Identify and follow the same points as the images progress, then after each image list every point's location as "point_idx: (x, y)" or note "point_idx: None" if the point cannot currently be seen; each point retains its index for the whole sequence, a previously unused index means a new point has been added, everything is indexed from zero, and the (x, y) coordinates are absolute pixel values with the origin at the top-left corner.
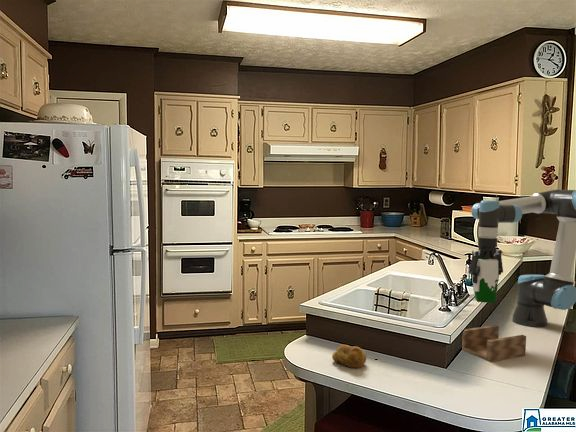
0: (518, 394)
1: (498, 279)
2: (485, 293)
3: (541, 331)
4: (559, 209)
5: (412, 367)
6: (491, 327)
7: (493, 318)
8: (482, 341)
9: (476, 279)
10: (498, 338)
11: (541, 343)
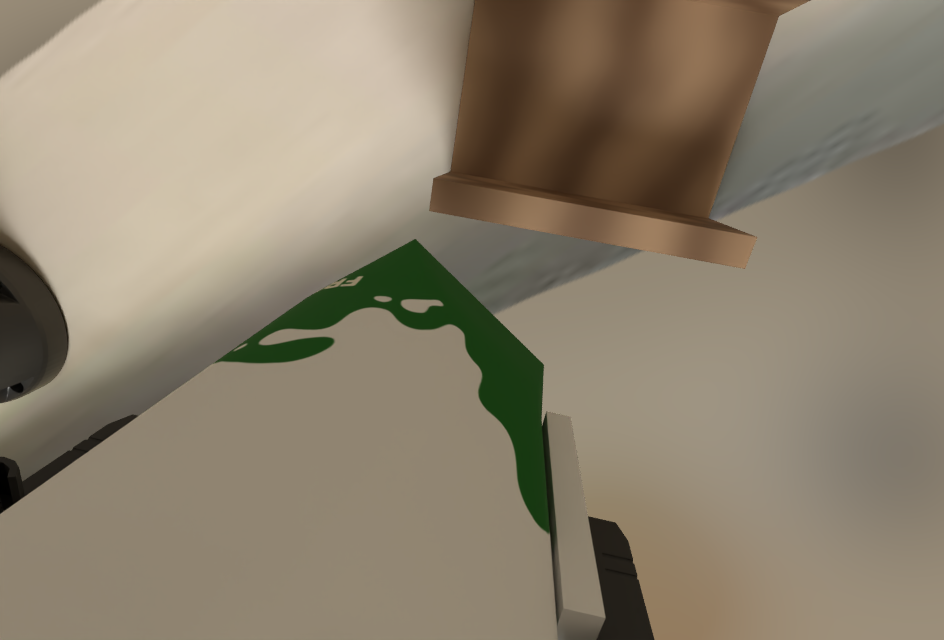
0: None
1: (94, 435)
2: (501, 342)
3: (34, 182)
4: None
5: None
6: (504, 190)
7: None
8: (574, 195)
9: (602, 576)
10: None
11: (200, 39)
